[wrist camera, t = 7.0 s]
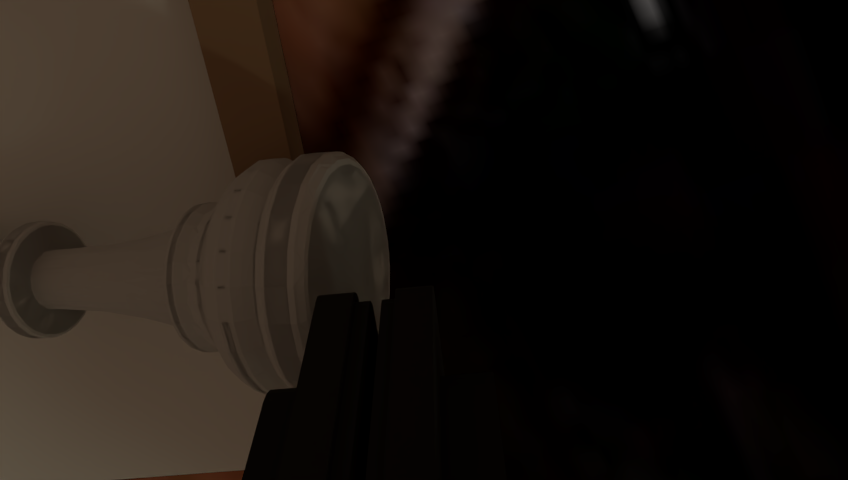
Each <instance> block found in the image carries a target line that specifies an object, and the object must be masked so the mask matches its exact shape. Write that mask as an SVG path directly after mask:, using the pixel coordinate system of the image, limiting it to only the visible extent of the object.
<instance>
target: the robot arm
mask: <svg viewBox="0 0 848 480" xmlns="http://www.w3.org/2000/svg"><path fill="white" fill-rule="evenodd" d="M242 480H507V478H506V470H505V461H504V453H503V445H502V437H501V428H500V420H499V412H498V404H497V395H496V387H495V379H494V373H493V372H484V373H471V374H459V375H447V376H445V374H444V366H443V358H442V350H441V342H440V334H439V325H438V317H437V309H436V301H435V293H434V287H433V285H430V286H419V287H407V288H396V290H395V299H384V300H382V302H381V311H380V323H379V334H378V331H377V326H376V320H375V315H374V309H373V305H372V302H371V301H362V302H359V298H358V295H357V293H356V292H351V293H339V294H328V295H319V296H317V299H316V302H315V307H314V311H313V316H312V320H311V325H310V329H309V334H308V338H307V343H306V347H305V352H304V356H303V361H302V365H301V369H300V374H299V378H298V383H297V387H296V388H286V389H273V390H269V392H268V393H267V394H266V396H265V399H264V401H263V404H262V408H261V412H260V415H259V419H258V423H257V426H256V430H255V434H254V437H253V441H252V445H251V448H250V452H249V455H248V459H247V463H246V466H245V470H244V474H243V477H242Z"/></svg>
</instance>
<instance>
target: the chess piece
mask: <svg viewBox="0 0 848 480" xmlns="http://www.w3.org/2000/svg"><path fill="white" fill-rule="evenodd" d="M351 292H356V293H357V295H358V298H359V302H362V301H371V302H372V305H373V309H374V315H375V320H376V326H377V331H378V334H379V323H380V311H381V302H382V300H384V299H389V296H390V262H389V249H388V239H387V233H386V227H385V221H384V216H383V212H382V208H381V204H380V202H379V198H378V195H377V192H376V190H375V188H374V186H373V183H372V181H371V179H370V177H369V175H368V174H367V173H366V171H365V169H364V168H363V167H362V166H361V165H360V164H359V163H358V162H357V161H356V160H355V159H354V158H353V157H351V156H349V155H347V154H345V153H344V152H339V151H335V152H320V153H310V154H302V155H300V156H299V157H297V158H296V159H295V160H294V161H292V160H290V159H288V158H274V159H266V160H259V161H258V162H256V163H255V164H253V165H252V166H251V167H249V168H248V169H247V170H245V171H244V172H243V173H241V174H240V175H239V176H238V177H236V178H235V179H234V180H233V181H232V182H231V183H230V185H229V186H228V188H227V189H226V191H225V192H224V194H223V195H222V197H221V198H220V200H219V202H218V203H216V202H207V203H203V204H198V205H194V206H193V207H192V208H190V209H189V210H187V211H186V212H185V213H184V214H183V215H182V217H181V218H180V219H179V221H178V222H177V223H176V225H175V227H174V229H173V230H171V231H167V232H164V233H161V234H157V235H154V236H151V237H147V238H144V239H138V240H133V241H127V242H122V243H117V244H111V245H102V246H92V247H87V246H86V245H85V243H84V241H83V240H82V238H81V237H80V236H79V235H78V234H77V233H76V232H75V231H74V230H73V229H71V228H69V227H67V226H65V225H64V224H61V223H58V222H52V221H37V222H31V223H26V224H24V225H22V226H20V227H18V228H16V229H15V230H13V231H11V232H10V233H9V234H8V235H7V236H6V237H5V238H4V239H3V240H2V242H1V244H0V318H1V320H2V321H3V322H4V323H5V325H6V326H7V327H9V328H10V329H11V330H13V331H14V332H16V333H17V334H19V335H22V336H25V337H29V338H55V337H58V336H60V335H63V334H65V333H67V332H69V331H70V330H71V329H72V328H74V327H75V326H76V325H77V324H78V323H79V322H80V320H81V319H82V318H83V316H84V315H85V313H86V311H105V312H111V313H117V314H123V315H129V316H135V317H141V318H146V319H150V320H154V321H158V322H162V323H166V324H169V325H172V326H174V328H175V330H176V332H177V333H178V335H179V337H180V338H181V339H182V340H183V341H184V342H185V343H186V344H187V345H188V346H189V347H191V348H193V349H196V350H199V351H201V352H218V351H219V353H220V355H221V357H222V358H223V360H224V362H225V364H226V365H227V367H228V368H229V369H230V370H231V371H232V372H233V373H234V374H235V375H236V376H237V377H238V378H239V379H240V380H241V381H242V382H244V383H245V384H246V385H248V386H249V387H250V388H252V389H253V390H254V391H257V392H260V393H263V394H267V393H268V392H269V390H273V389H286V388H296V387H297V383H298V378H299V374H300V369H301V365H302V361H303V356H304V352H305V347H306V343H307V338H308V334H309V329H310V325H311V320H312V316H313V311H314V307H315V302H316V299H317V296H319V295H328V294H339V293H351Z"/></svg>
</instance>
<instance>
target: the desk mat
mask: <svg viewBox="0 0 848 480" xmlns="http://www.w3.org/2000/svg"><path fill="white" fill-rule="evenodd" d="M302 154H304V150H303V145H302V141H301V136H300V131H299V126H298V122H297V117H296V112H295V107H294V103H293V98H292V93H291V88H290V84H289V79H288V74H287V69H286V65H285V60H284V55H283V50H282V46H281V41H280V36H279V31H278V27H277V22H276V17H275V12H274V8H273V3H272V0H0V244H1V242H2V240H3V239H4V238H5V237H6V236H7V235H8V234H9V233H10V232H11V231H13V230H15V229H16V228H18V227H20V226H22V225H24V224H26V223H31V222H37V221H52V222H58V223H61V224H64V225H65V226H67V227H69V228H71V229H73V230H74V231H75V232H76V233H77V234H78V235H79V236H80V237H81V238H82V240H83V241H84V243H85V245H86V246H87V247H92V246H102V245H111V244H117V243H122V242H127V241H133V240H138V239H144V238H147V237H151V236H154V235H157V234H161V233H164V232H167V231H171V230H173V229H174V227H175V225H176V223H177V222H178V221H179V219H180V218H181V217H182V215H183V214H184V213H185V212H186V211H187V210H189V209H190V208H192V207H193V206H194V205H198V204H203V203H207V202H216V203H218V202H219V200H220V198H221V197H222V195H223V194H224V192H225V191H226V189H227V188H228V186H229V185H230V183H231V182H232V181H233V180H234V179H235V178H236V177H238V176H239V175H240V174H241V173H243V172H244V171H245V170H247V169H248V168H249V167H251V166H252V165H253V164H255V163H256V162H258V161H259V160H266V159H274V158H288V159H290V160H292V161H294V160H295V159H296V158H297V157H299V156H300V155H302ZM265 396H266V394H263V393H260V392H257V391H254V390H253V389H252V388H250V387H249V386H248V385H246V384H245V383H244V382H242V381H241V380H240V379H239V378H238V377H237V376H236V375H235V374H234V373H233V372H232V371H231V370H230V369H229V368H228V367H227V365H226V364H225V362H224V360H223V358H222V357H221V355H220V353H219V351H218V352H201V351H199V350H196V349H193V348H191V347H189V346H188V345H187V344H186V343H185V342H184V341H183V340H182V339H181V338H180V337H179V335H178V333H177V332H176V330H175V328H174V326H172V325H169V324H166V323H162V322H158V321H154V320H150V319H146V318H141V317H135V316H129V315H123V314H117V313H111V312H105V311H86V313H85V315H84V316H83V318H82V319H81V320H80V322H79V323H78V324H77V325H76V326H75V327H74V328H72V329H71V330H70V331H69V332H67V333H65V334H63V335H60V336H58V337H55V338H29V337H25V336H22V335H19V334H17V333H16V332H14V331H13V330H11V329H10V328H9V327H7V326H6V325H5V323H4V322H3V321H2V320H1V318H0V480H118V479H131V478H145V477H158V476H172V475H185V474H198V473H212V472H225V471H239V470H245V466H246V463H247V459H248V455H249V452H250V448H251V445H252V441H253V437H254V434H255V430H256V426H257V423H258V419H259V415H260V412H261V408H262V404H263V401H264V399H265Z"/></svg>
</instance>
